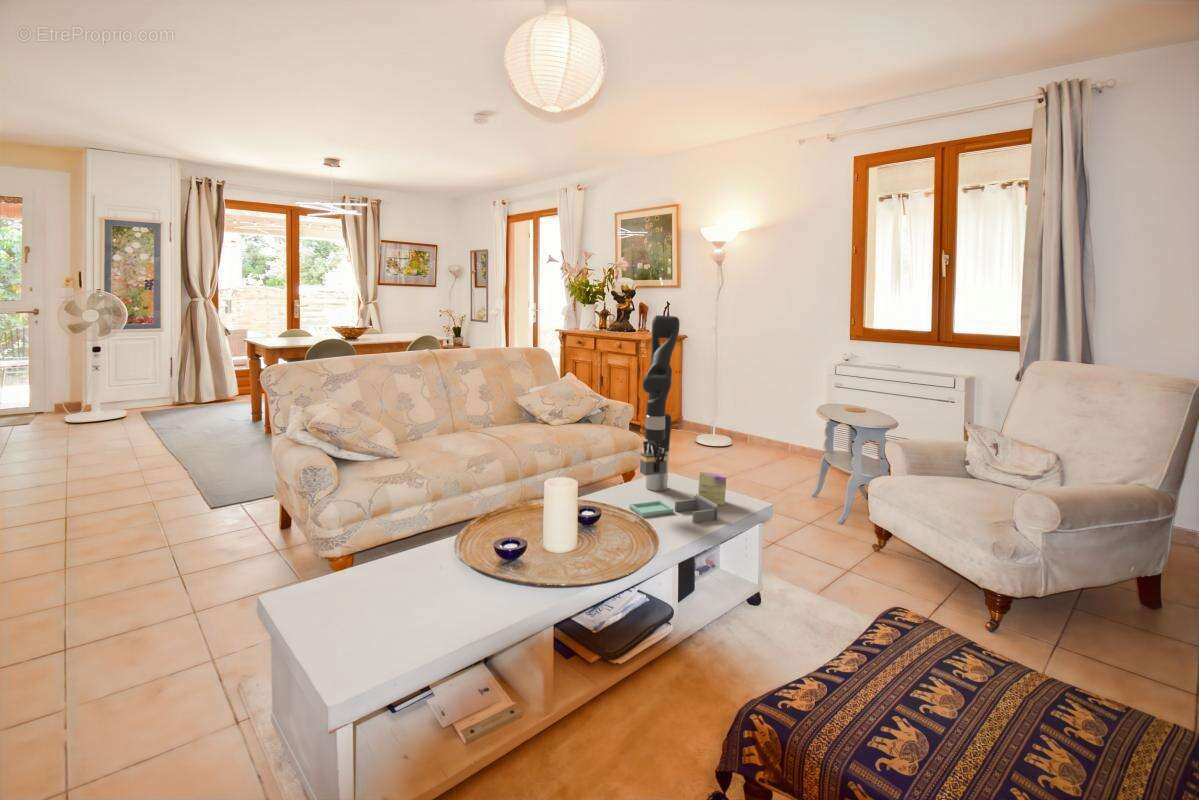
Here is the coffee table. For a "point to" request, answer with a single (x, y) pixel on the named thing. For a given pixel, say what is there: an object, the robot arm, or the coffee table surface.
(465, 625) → the coffee table surface
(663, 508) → the tray
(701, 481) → the box
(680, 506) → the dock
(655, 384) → the robot arm
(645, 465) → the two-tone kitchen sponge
